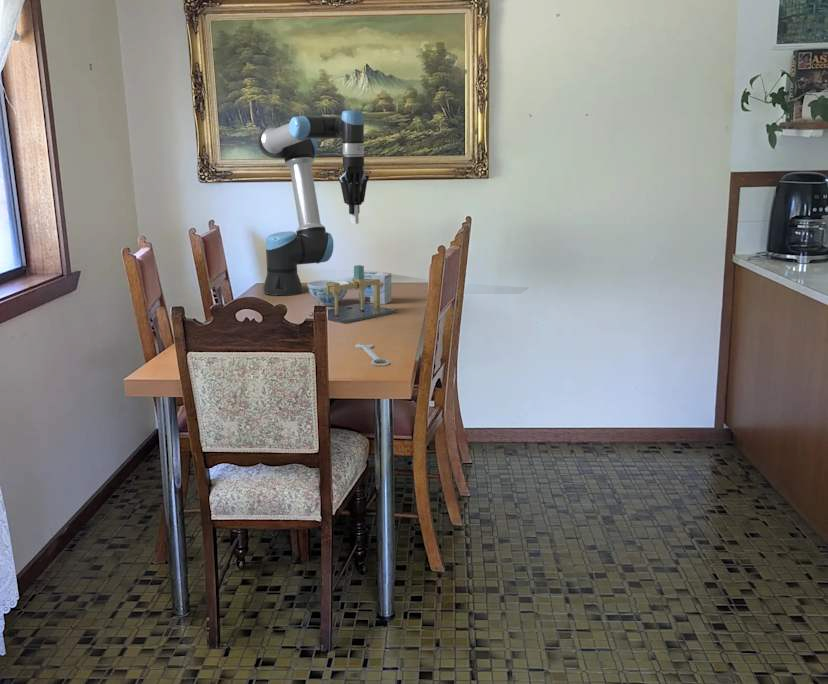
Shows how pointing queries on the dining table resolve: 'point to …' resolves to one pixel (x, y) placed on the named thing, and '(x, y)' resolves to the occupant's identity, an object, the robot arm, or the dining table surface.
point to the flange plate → (357, 313)
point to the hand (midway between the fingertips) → (354, 223)
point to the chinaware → (325, 292)
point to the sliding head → (360, 282)
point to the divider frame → (336, 288)
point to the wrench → (372, 355)
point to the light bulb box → (384, 287)
